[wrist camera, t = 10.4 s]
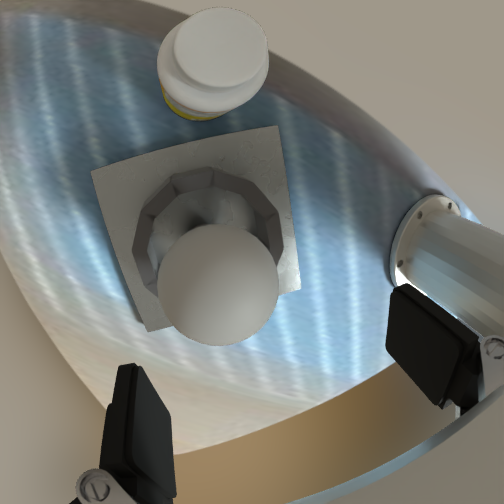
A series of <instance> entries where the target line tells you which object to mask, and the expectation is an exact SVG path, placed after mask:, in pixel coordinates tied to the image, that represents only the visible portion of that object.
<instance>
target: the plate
mask: <svg viewBox="0 0 504 504" xmlns="http://www.w3.org/2000/svg"><path fill="white" fill-rule="evenodd" d="M206 166H209V167H213V168H216V169H219V170H223V171H226V172H229V173H232V174H236V175H239V176H242V177H244V178H246V179H248V180H250V181H252V182H254V183H255V185H256V186H257V187H258V188H259V189H260V190H261V191H262V193H263V194H264V195H265V196H266V197H267V198H268V200H269V201H270V202H271V203H272V204H273V206H274V207H275V208H276V209H277V210H278V212H279V217H280V223H281V230H282V237H283V244H284V250H283V253H282V255H281V258H280V260H279V263H278V265H277V271H278V278H279V294H278V296H279V295H282V294H285V293H288V292H292V291H295V290H298V289H301V283H300V274H299V265H298V257H297V249H296V241H295V233H294V226H293V218H292V211H291V204H290V197H289V190H288V184H287V177H286V171H285V164H284V158H283V152H282V146H281V140H280V134H279V128H278V125H275V126H268V127H262V128H256V129H250V130H244V131H239V132H234V133H228V134H223V135H219V136H214V137H209V138H204V139H200V140H196V141H191V142H187V143H183V144H179V145H175V146H171V147H167V148H164V149H160V150H156V151H153V152H149V153H145V154H142V155H139V156H135V157H132V158H129V159H125V160H122V161H119V162H116V163H113V164H110V165H107V166H104V167H101V168H98V169H95V170H92V171H90V172H91V176H92V180H93V183H94V187H95V191H96V194H97V198H98V201H99V205H100V208H101V211H102V215H103V218H104V221H105V224H106V227H107V230H108V233H109V236H110V239H111V242H112V245H113V248H114V251H115V254H116V256H117V259H118V262H119V265H120V267H121V270H122V273H123V275H124V278H125V280H126V283H127V285H128V288H129V290H130V293H131V295H132V298H133V300H134V302H135V305H136V307H137V310H138V312H139V314H140V316H141V319H142V321H143V323H144V325H145V328H146V330H147V332H151V331H155V330H159V329H163V328H167V327H171V326H173V325H172V324H171V322H170V321H169V320H168V318H167V317H166V315H165V313H164V311H163V309H162V306H161V303H160V300H159V298H157V297H156V296H155V295H154V294H153V293H151V292H150V291H149V290H148V289H146V288H145V286H144V285H143V282H142V279H141V277H140V274H139V271H138V268H137V266H136V263H135V260H134V257H133V254H132V246H133V241H134V236H135V232H136V227H137V223H138V219H139V215H140V211H141V209H142V207H143V205H144V202H145V201H146V200H147V199H148V198H149V197H150V196H151V195H152V194H153V193H154V192H155V191H156V190H157V189H158V188H159V187H160V186H161V185H162V184H163V183H164V182H165V181H166V180H167V179H168V178H169V177H170V176H171V177H172V175H174V174H178V173H182V172H186V171H190V170H194V169H198V168H202V167H206ZM202 223H205V224H209V225H210V224H224V225H230V226H235V227H237V228H240V229H243V230H246V231H247V232H249V233H251V234H252V235H254V236H255V237H256V238H257V237H258V232H257V226H256V221H255V215H254V210H253V208H252V207H251V206H250V205H249V204H248V203H247V201H246V200H245V199H244V198H243V197H242V196H241V195H240V194H237V193H234V192H230V191H227V190H224V189H220V188H217V187H213V186H212V187H208V188H204V189H200V190H196V191H192V192H188V193H184V194H180V195H178V196H177V197H176V198H175V199H174V200H173V201H172V202H171V203H170V204H169V205H168V206H167V207H166V208H165V209H164V210H163V211H162V212H161V213H160V214H159V215H158V216H157V217H156V218H155V219H154V223H153V227H152V231H151V235H150V239H151V242H152V245H153V248H154V251H155V254H156V258H157V261H158V263H159V264H161V262H162V260H163V258H164V256H165V255H166V253H167V251H168V250H169V248H170V247H171V246H172V245H173V244H174V243H175V242H176V241H177V239H179V238H180V237H181V236H183V235H184V234H185V233H187V232H189V230H190V229H191V228H192V227H193V226H195V225H197V224H202Z"/></svg>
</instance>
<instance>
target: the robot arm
mask: <svg viewBox="0 0 504 504" xmlns="http://www.w3.org/2000/svg"><path fill="white" fill-rule="evenodd" d="M390 275H391V279H392V282H393V284H394V286H395V288H394V289H393V292H392V293H391V295H390V306H389V317H388V327H387V335H386V343H385V346H386V350H387V352H388V353H389V354H390V355H391V356H392V358H393V359H394V360H395V361H396V362H397V363H398V364H399V365H400V367H401V368H402V369H403V370H404V371H405V372H406V373H407V374H408V376H409V377H410V378H411V379H412V380H413V381H414V382H415V384H416V385H417V386H418V387H419V388H420V389H421V390H422V391H423V393H424V394H425V395H426V396H427V397H428V399H429V400H430V401H431V402H432V403H433V404H434V405H438V406H439V407H440V408H441V409H444V408H445V407H447V406H449V405H450V404H451V403H452V402H454V403H455V404H456V419H455V421H454V422H452V423H451V424H450V425H448V426H447V427H445V428H444V429H442V430H441V431H439V432H438V433H437V434H435V435H433V436H432V437H430V438H429V439H427V440H426V441H424V442H423V443H421V444H419V445H418V446H416V447H414V448H413V449H411V450H409V451H408V452H406V453H404V454H402V455H400V456H399V457H397V458H395V459H393V460H391V461H389V462H388V463H386V464H384V465H382V466H380V467H378V468H376V469H374V470H372V471H370V472H368V473H365V474H363V475H361V476H359V477H357V478H354V479H352V480H350V481H348V482H345V483H343V484H340V485H338V486H335V487H333V488H330V489H328V490H325V491H322V492H319V493H317V494H314V495H311V496H308V497H305V498H302V499H299V500H296V501H292V502H289V503H286V504H504V235H503V234H501V233H499V232H496V231H494V230H492V229H490V228H487V227H485V226H483V225H481V224H478V223H475V222H473V221H470V220H468V219H466V218H463V217H461V214H460V211H459V209H458V207H457V205H456V204H455V203H454V201H453V200H451V199H450V198H448V197H445V196H442V195H436V194H433V195H429V196H426V197H424V198H423V199H421V200H419V201H418V202H417V203H416V204H415V205H413V207H412V208H411V209H410V210H409V211H408V213H407V214H406V216H405V217H404V219H403V220H402V222H401V224H400V226H399V228H398V230H397V232H396V235H395V238H394V241H393V244H392V249H391V254H390ZM427 295H428V296H429V297H431V298H432V299H433V300H435V301H436V302H438V303H439V304H440V305H442V306H443V307H445V308H446V309H447V310H449V311H450V312H451V313H453V314H454V315H455V316H457V317H458V318H460V319H461V320H462V321H464V322H465V323H466V324H468V325H469V326H470V327H472V328H473V329H474V330H475V331H477V332H478V333H479V334H481V335H482V336H483V337H484V339H483V340H482V341H481V343H479V342H478V338H479V337H478V336H477V335H476V334H475V333H473V332H472V331H471V330H470V329H469V328H467V327H466V326H465V325H463V324H462V323H461V322H460V321H459V320H457V319H456V318H455V317H453V316H452V315H451V314H450V313H448V312H447V311H446V310H444V309H443V308H442V307H440V306H439V305H438V304H436V303H435V302H434V301H432V300H431V299H430V298H428V297H427ZM174 472H175V471H174V459H173V444H172V426H171V416H170V413H169V411H168V410H167V408H166V406H165V405H164V403H163V402H162V400H161V398H160V397H159V395H158V394H157V392H156V390H155V389H154V387H153V385H152V383H151V382H150V380H149V378H148V377H147V375H146V373H145V371H144V369H143V368H142V367H141V366H137V365H136V364H135V363H131V364H125V365H120V366H119V367H118V371H117V376H116V382H115V387H114V393H113V399H112V403H111V404H109V405H108V407H107V411H106V417H105V424H104V431H103V439H102V446H101V455H100V465H99V469H90V470H87V471H86V472H84V473H83V474H82V475H81V476H80V477H79V479H78V480H77V482H76V494H77V496H78V497H77V498H75V499H74V500H73V501H72V502H71V503H70V504H173V499H172V498H175V497H176V495H177V493H176V482H175V473H174Z"/></svg>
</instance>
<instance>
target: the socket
mask: <svg viewBox="0 0 504 504" xmlns="http://www.w3.org/2000/svg"><path fill="white" fill-rule="evenodd" d="M212 186H213V187H217V188H220V189H224V190H227V191H230V192H234V193H237V194H240V195H241V196H242V197H243V198H244V199H245V200H246V201H247V203H248V204H249V205H250V206H251V207H252V208H253V210H254V215H255V221H256V226H257V232H258V237H257V239H258V240H260V241H261V242H262V243H263V244H264V246H265V247H266V248H267V249H268V251H269V252H270V254H271V255H272V257H273V260H274V262H275V265H276V268H277V265H278V263H279V260H280V258H281V255H282V253H283V250H284V244H283V237H282V230H281V223H280V217H279V212H278V210H277V209H276V208H275V207H274V206H273V204H272V203H271V202H270V201H269V200H268V198H267V197H266V196H265V195H264V194H263V193H262V191H261V190H260V189H259V188H258V187H257V186H256V185H255V183H254V182H252V181H250V180H248V179H246V178H244V177H242V176H239V175H236V174H232V173H229V172H226V171H223V170H219V169H216V168H213V167H209V166H206V167H202V168H198V169H194V170H190V171H186V172H182V173H178V174H174V175H172V177H171V176H170V177H169V178H168V179H167V180H166V181H165V182H164V183H163V184H162V185H161V186H160V187H159V188H158V189H157V190H156V191H155V192H154V193H153V194H152V195H151V196H150V197H149V198H148V199H147V200H146V201H145V202H144V205H143V207H142V209H141V211H140V215H139V219H138V223H137V227H136V232H135V236H134V241H133V246H132V254H133V257H134V260H135V263H136V266H137V268H138V271H139V274H140V277H141V279H142V282H143V285H144V286H145V288H146V289H148V290H149V291H150V292H151V293H153V294H154V295H155V296H156V297H157V298H158V290H157V281H158V272H159V268H160V265H161V264H159V263H158V261H157V258H156V254H155V251H154V248H153V245H152V242H151V239H150V235H151V231H152V227H153V223H154V219H155V218H156V217H157V216H158V215H159V214H160V213H161V212H162V211H163V210H164V209H165V208H166V207H167V206H168V205H169V204H170V203H171V202H172V201H173V200H174V199H175V198H176V197H177V196H178V195H180V194H184V193H188V192H192V191H196V190H200V189H204V188H208V187H212Z"/></svg>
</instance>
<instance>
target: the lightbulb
mask: <svg viewBox="0 0 504 504" xmlns="http://www.w3.org/2000/svg"><path fill="white" fill-rule="evenodd" d="M157 290H158V298H159V300H160V303H161V306H162V309H163V311H164V313H165V315H166V317H167V318H168V320H169V321H170V322H171V324H172V325H173V326H174V327H175V328H176V329H177V330H178V331H179V332H180V333H182V334H183V335H185V336H186V337H188V338H190V339H192V340H194V341H197V342H199V343H202V344H207V345H213V346H223V345H231V344H234V343H238V342H241V341H243V340H245V339H247V338H249V337H251V336H252V335H254V334H255V333H257V332H258V331H259V330H260V329H261V328H262V327H263V326H264V325H265V323H266V322H267V321H268V320H269V318H270V316H271V314H272V312H273V310H274V309H275V306H276V303H277V300H278V294H279V278H278V271H277V268H276V265H275V262H274V260H273V257H272V255H271V254H270V252H269V251H268V249H267V248H266V247H265V246H264V244H263V243H262V242H261V241H260V240H258V239H257V238H256V237H255V236H254V235H252V234H251V233H249V232H247V231H246V230H243V229H240V228H237V227H235V226H230V225H224V224H210V225H209V224H205V223H202V224H197V225H195V226H193V227H192V228H191V229H190V230H189V232H187V233H185V234H184V235H183V236H181V237H180V238H179V239H177V241H176V242H175V243H174V244H173V245H172V246H171V247H170V248H169V250H168V251H167V253H166V255H165V256H164V258H163V260H162V262H161V265H160V268H159V272H158V281H157Z"/></svg>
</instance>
